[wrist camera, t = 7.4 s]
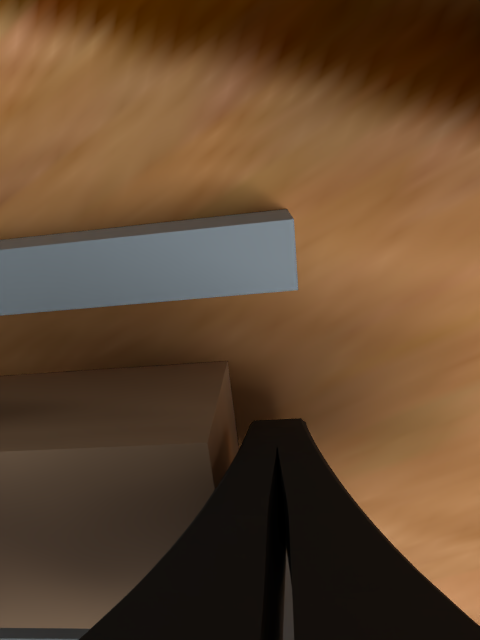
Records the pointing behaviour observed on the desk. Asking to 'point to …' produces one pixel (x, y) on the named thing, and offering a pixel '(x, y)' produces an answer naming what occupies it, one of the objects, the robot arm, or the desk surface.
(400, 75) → the desk surface
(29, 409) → the walnut block
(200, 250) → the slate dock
